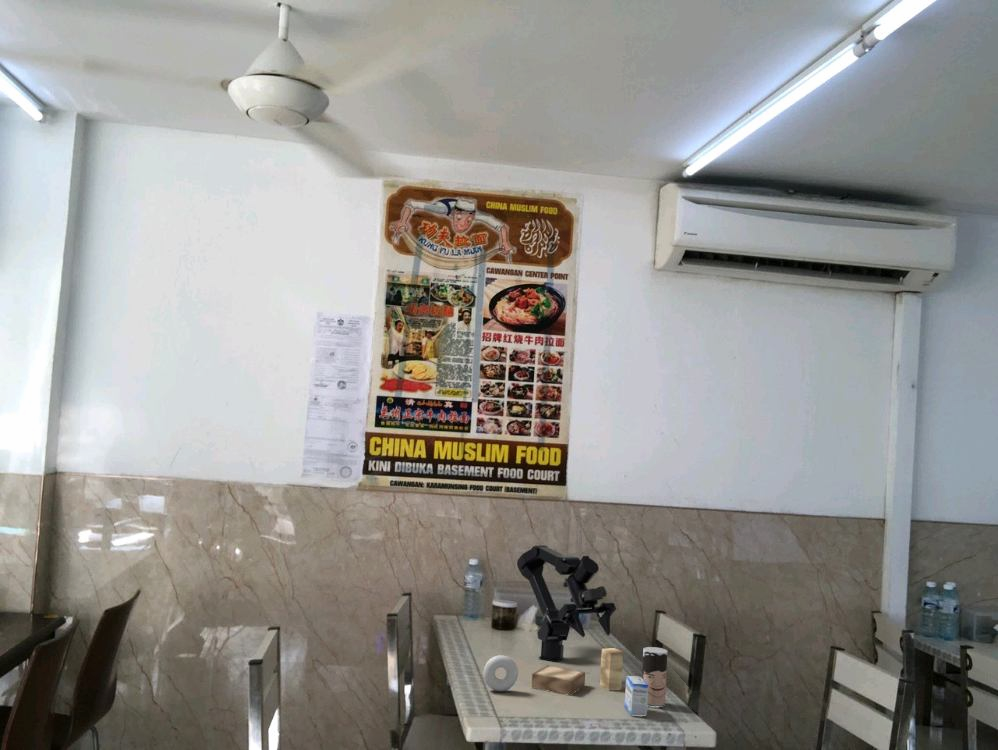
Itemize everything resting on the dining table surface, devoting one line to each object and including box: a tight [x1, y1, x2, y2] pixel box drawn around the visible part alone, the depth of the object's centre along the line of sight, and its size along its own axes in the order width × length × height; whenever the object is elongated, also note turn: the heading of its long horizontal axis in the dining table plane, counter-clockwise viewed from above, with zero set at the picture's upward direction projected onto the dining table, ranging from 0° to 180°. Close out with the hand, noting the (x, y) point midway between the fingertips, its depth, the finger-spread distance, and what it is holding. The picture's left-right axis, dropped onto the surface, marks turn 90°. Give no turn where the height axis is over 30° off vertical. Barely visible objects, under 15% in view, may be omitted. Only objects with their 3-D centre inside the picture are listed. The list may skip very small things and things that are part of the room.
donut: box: [482, 654, 519, 692], centre depth 246 cm, size 10×3×10 cm, turn 96°
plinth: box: [531, 664, 586, 696], centre depth 254 cm, size 12×12×4 cm
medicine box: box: [623, 675, 648, 716], centre depth 234 cm, size 8×4×9 cm, turn 5°
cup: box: [641, 646, 669, 706], centre depth 243 cm, size 7×7×15 cm
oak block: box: [599, 647, 624, 691], centre depth 256 cm, size 4×4×11 cm
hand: (596, 635), depth 265 cm, fingers open, 9 cm apart
